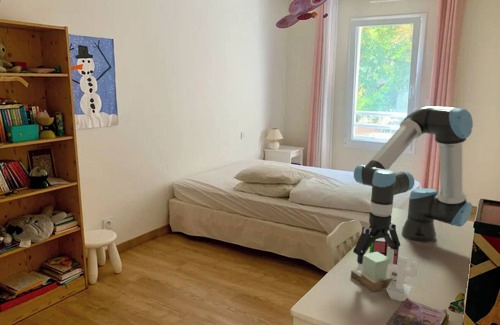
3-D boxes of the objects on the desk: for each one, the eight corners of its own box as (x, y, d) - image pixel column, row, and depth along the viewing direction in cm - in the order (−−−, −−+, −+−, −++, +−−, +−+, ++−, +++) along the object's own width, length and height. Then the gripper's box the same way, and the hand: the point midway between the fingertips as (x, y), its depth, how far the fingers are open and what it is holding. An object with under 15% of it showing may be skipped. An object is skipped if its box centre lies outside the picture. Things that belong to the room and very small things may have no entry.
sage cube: (375, 268, 154) (377, 251, 153) (388, 276, 148) (390, 259, 147) (361, 271, 151) (362, 254, 150) (374, 280, 145) (376, 262, 144)
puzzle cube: (396, 266, 163) (399, 243, 160) (371, 263, 164) (373, 240, 162) (393, 256, 172) (395, 233, 170) (369, 253, 174) (371, 231, 172)
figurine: (387, 289, 145) (391, 250, 142) (414, 297, 140) (419, 256, 137) (381, 297, 139) (386, 257, 136) (410, 306, 134) (415, 264, 131)
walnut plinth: (375, 270, 158) (375, 264, 158) (398, 285, 148) (398, 278, 147) (350, 276, 153) (351, 270, 153) (372, 291, 143) (373, 285, 142)
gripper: (398, 206, 153) (393, 257, 158) (346, 214, 143) (341, 269, 147) (414, 212, 147) (408, 266, 151) (360, 221, 136) (355, 278, 141)
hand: (375, 267), depth 149 cm, fingers open, 13 cm apart
